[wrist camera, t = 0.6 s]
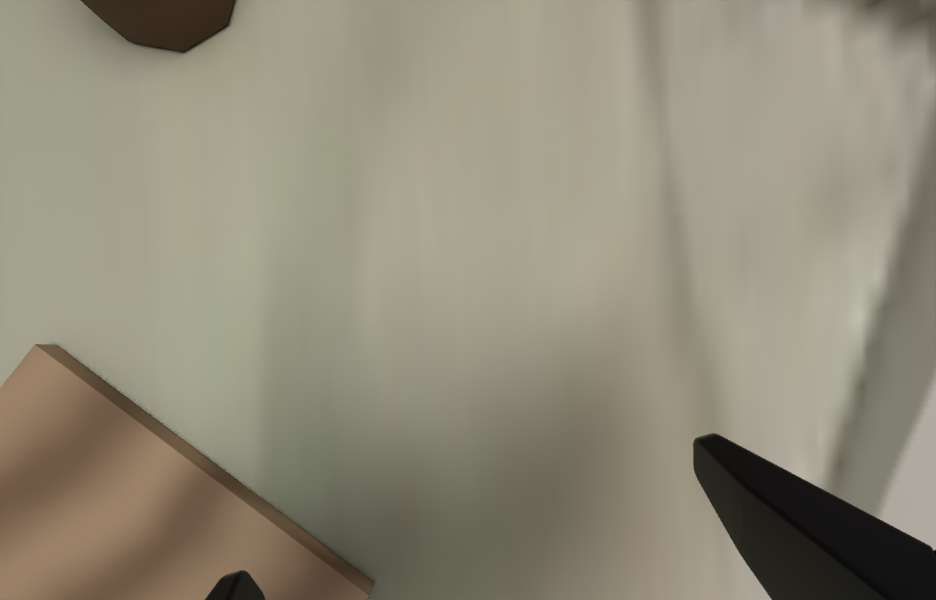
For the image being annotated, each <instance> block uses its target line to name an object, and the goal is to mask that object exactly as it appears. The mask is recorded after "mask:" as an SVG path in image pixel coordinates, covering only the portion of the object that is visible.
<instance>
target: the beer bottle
mask: <svg viewBox="0 0 936 600" xmlns="http://www.w3.org/2000/svg"><path fill="white" fill-rule="evenodd" d="M81 1H82V2H83V3H84V4H85V5H86V6H88V7H89V8H90V9H91V10H92V11H93V12H94V13H95V14H96V15H97V16H99V17H100V18H101V19H102V20H103V21H104V22H105V23H107V24H108V25H109V26H110V27H112V28H113V29H114V30H115V31H117V32H118V33H119V34H120V35H121V36H123V37H124V38H125V39H126V40H128V41H131V42H134V43H140V44H145V45H151V46H156V47H162V48H167V49H173V50H178V51H186V50H188V49H189V48H191V47H193V46H194V45H196V44H198V43H199V42H201V41H202V40H204V39H206V38H207V37H209V36H211V35H212V34H214V33H216V32H217V31H219V30H220V29H222V28H224V27H225V26H227V25H228V22H229V18H230V14H231V10H232V6H233V3H234V0H81Z"/></svg>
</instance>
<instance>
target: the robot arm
mask: <svg viewBox="0 0 936 600" xmlns="http://www.w3.org/2000/svg"><path fill="white" fill-rule="evenodd" d="M693 465H694V471H695V474H696V477H697V479H698V481H699V483H700V484H701V486H702V488H703V490H704V491H705V493H706V495H707V497H708V499H709V500H710V502H711V504H712V506H713V507H714V509H715V511H716V513H717V514H718V516H719V518H720V520H721V522H722V523H723V525H724V527H725V529H726V530H727V532H728V534H729V536H730V538H731V539H732V541H733V543H734V544H735V546H736V548H737V549H738V551H739V553H740V554H741V556H742V557H743V559H744V560H745V562H746V563H747V565H748V566H749V568H750V569H751V571H752V572H753V573H754V575H755V576H756V578H757V579H758V581H759V582H760V583H761V585H762V586H763V588H764V589H765V590H766V592H767V593H768V595H769V596H770V598H771V599H772V600H936V550H934V551H933V549H932V548H931V546H929V545H927V544H925V543H923V542H921V541H920V540H918V539H916V538H914V537H912V536H910V535H908V534H906V533H904V532H902V531H900V530H899V529H897V528H894V527H893V526H891V525H889V524H887V523H885V522H884V521H882V520H880V519H878V518H876V517H874V516H872V515H870V514H868V513H866V512H865V511H863V510H861V509H859V508H857V507H855V506H853V505H851V504H849V503H847V502H846V501H844V500H842V499H840V498H838V497H836V496H834V495H832V494H830V493H828V492H827V491H825V490H823V489H821V488H819V487H817V486H815V485H813V484H811V483H810V482H808V481H806V480H804V479H802V478H800V477H798V476H796V475H794V474H792V473H791V472H789V471H787V470H785V469H783V468H781V467H779V466H777V465H775V464H773V463H772V462H770V461H768V460H766V459H764V458H762V457H760V456H758V455H756V454H754V453H753V452H751V451H749V450H747V449H745V448H743V447H741V446H739V445H737V444H736V443H734V442H732V441H730V440H728V439H726V438H724V437H722V436H720V435H718V434H714V433H712V434H708V435H704V436H701V437H697V438H696V439H695V440H694V444H693ZM205 600H265V596H264V594H263V592H262V590H261V589H260V588H259V586H258V585H257V584H256V582H255V581H254V579H253V578H252V577H251V575H250V574H249V573H248V572H247V571H245V570H240V571H237V572H233V573H230V574H227V575H224V576H223V577H222V578H221V579H220V580H219V581H218V582H217V583H216V585H215V586H214V588H213V589H212V590H211V592H210V593H209V594H208V596H207V597H206V598H205Z"/></svg>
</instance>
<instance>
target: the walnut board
mask: <svg viewBox="0 0 936 600" xmlns="http://www.w3.org/2000/svg"><path fill="white" fill-rule="evenodd" d="M240 570H245V571H247V572H248V573H249V574H250V575H251V577H252V578H253V579H254V581H255V582H256V584H257V585H258V586H259V588H260V589H261V590H262V592H263V594H264V596H265V600H367V598H368V597H369V595H370V593H371V590H372V588H373V585H374V583H373V582H372V581H371V580H369V579H368V578H367V577H365V576H364V575H363V574H361V573H360V572H359V571H357V570H356V569H355V568H353V567H352V566H351V565H349V564H348V563H347V562H345V561H344V560H343V559H341V558H340V557H339V556H337V555H336V554H335V553H333V552H332V551H331V550H329V549H328V548H327V547H325V546H324V545H323V544H321V543H320V542H319V541H317V540H316V539H315V538H313V537H312V536H311V535H309V534H308V533H307V532H305V531H304V530H303V529H301V528H300V527H299V526H297V525H296V524H295V523H293V522H292V521H291V520H289V519H288V518H287V517H285V516H284V515H283V514H281V513H280V512H279V511H277V510H276V509H275V508H273V507H272V506H271V505H269V504H268V503H267V502H265V501H264V500H263V499H261V498H260V497H259V496H257V495H256V494H255V493H253V492H252V491H251V490H249V489H248V488H247V487H245V486H244V485H243V484H241V483H240V482H239V481H237V480H236V479H235V478H233V477H232V476H231V475H229V474H228V473H227V472H225V471H224V470H223V469H221V468H220V467H219V466H217V465H216V464H215V463H213V462H212V461H211V460H209V459H208V458H207V457H205V456H204V455H203V454H201V453H200V452H199V451H197V450H196V449H195V448H193V447H192V446H191V445H189V444H188V443H187V442H185V441H184V440H183V439H181V438H180V437H179V436H177V435H176V434H175V433H173V432H172V431H171V430H169V429H168V428H167V427H165V426H164V425H163V424H161V423H160V422H159V421H157V420H156V419H155V418H153V417H152V416H151V415H149V414H148V413H147V412H145V411H144V410H143V409H141V408H140V407H139V406H137V405H136V404H135V403H133V402H132V401H131V400H129V399H128V398H127V397H125V396H124V395H123V394H121V393H120V392H118V391H117V390H116V389H114V388H113V387H112V386H110V385H109V384H108V383H106V382H105V381H104V380H102V379H101V378H100V377H98V376H97V375H96V374H94V373H93V372H92V371H90V370H89V369H88V368H86V367H85V366H84V365H82V364H81V363H80V362H78V361H77V360H76V359H74V358H73V357H72V356H70V355H69V354H68V353H66V352H65V351H64V350H62V349H61V348H60V347H58V346H57V345H41V344H35V345H34V346H33V348H32V349H31V350H30V351H29V353H28V354H27V355H26V356H25V358H24V359H23V360H22V361H21V363H20V364H19V365H18V366H17V368H16V369H15V370H14V371H13V373H12V374H11V375H10V376H9V378H8V379H7V380H6V382H5V383H4V384H3V385H2V387H1V388H0V600H205V598H206V597H207V596H208V594H209V593H210V592H211V590H212V589H213V588H214V586H215V585H216V583H217V582H218V581H219V580H220V579H221V578H222V577H223V576H224V575H227V574H230V573H233V572H237V571H240Z"/></svg>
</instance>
